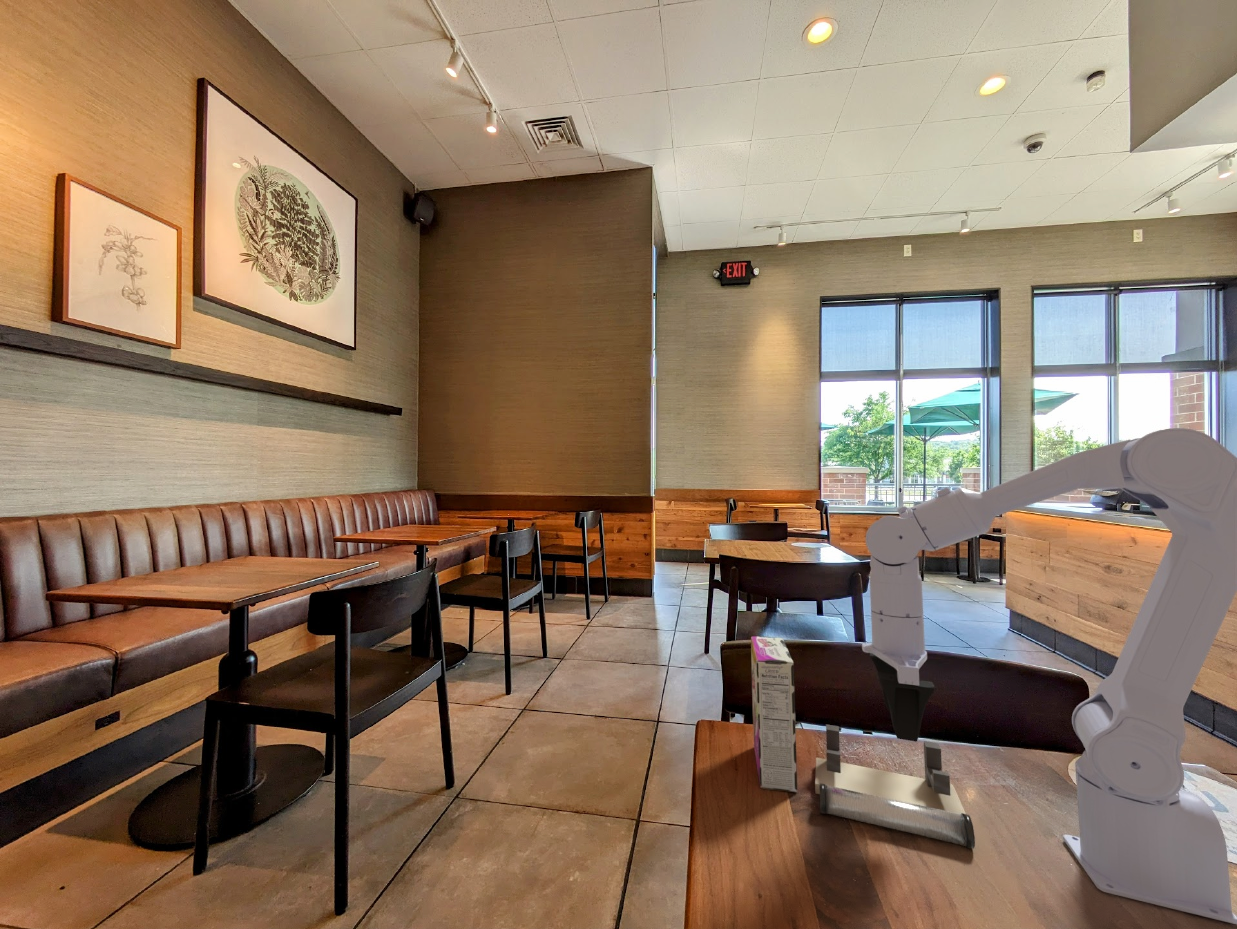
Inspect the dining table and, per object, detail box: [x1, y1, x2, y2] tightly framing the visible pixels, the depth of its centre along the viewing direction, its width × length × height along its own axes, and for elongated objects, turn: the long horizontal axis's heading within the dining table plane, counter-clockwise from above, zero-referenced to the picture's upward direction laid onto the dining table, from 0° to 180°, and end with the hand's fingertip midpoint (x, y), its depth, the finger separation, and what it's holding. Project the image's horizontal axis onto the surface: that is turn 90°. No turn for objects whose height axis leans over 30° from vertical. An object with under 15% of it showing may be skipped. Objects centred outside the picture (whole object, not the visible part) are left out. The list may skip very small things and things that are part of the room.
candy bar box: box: [750, 635, 799, 793], centre depth 67 cm, size 11×5×16 cm, turn 168°
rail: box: [819, 783, 976, 849], centre depth 55 cm, size 15×3×3 cm, turn 67°
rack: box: [814, 724, 967, 814], centre depth 61 cm, size 16×7×6 cm, turn 67°
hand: (901, 724), depth 60 cm, fingers open, 7 cm apart
